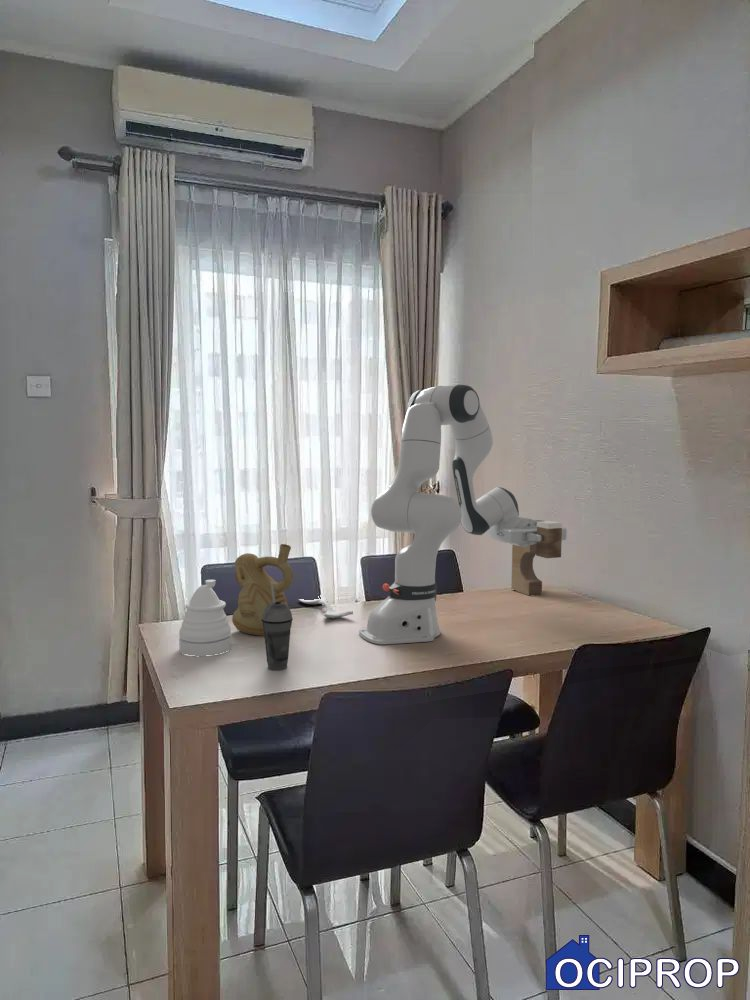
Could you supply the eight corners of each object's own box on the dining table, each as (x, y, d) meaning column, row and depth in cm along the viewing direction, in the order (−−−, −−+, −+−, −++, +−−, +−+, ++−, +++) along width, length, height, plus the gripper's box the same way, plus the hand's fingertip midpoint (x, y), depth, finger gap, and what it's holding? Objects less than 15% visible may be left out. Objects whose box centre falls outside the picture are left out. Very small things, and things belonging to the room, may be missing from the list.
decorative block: (542, 594, 239) (544, 537, 237) (528, 596, 237) (530, 538, 235) (524, 588, 249) (525, 533, 247) (510, 589, 247) (511, 534, 245)
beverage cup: (292, 672, 158) (291, 586, 157) (260, 672, 158) (259, 587, 156) (293, 661, 166) (293, 580, 164) (263, 662, 165) (262, 580, 163)
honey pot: (241, 645, 179) (240, 577, 177) (210, 659, 167) (208, 587, 166) (201, 639, 184) (200, 573, 183) (168, 653, 172) (166, 582, 171)
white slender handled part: (325, 624, 200) (325, 613, 200) (294, 601, 229) (294, 591, 229) (354, 621, 204) (354, 610, 203) (320, 598, 233) (320, 588, 233)
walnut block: (547, 558, 196) (548, 523, 195) (536, 555, 200) (537, 521, 200) (561, 557, 198) (562, 522, 197) (550, 554, 202) (550, 520, 202)
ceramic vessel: (254, 619, 205) (253, 536, 203) (309, 627, 196) (308, 541, 194) (215, 633, 190) (214, 543, 188) (273, 643, 181) (272, 549, 179)
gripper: (493, 523, 206) (521, 528, 193) (549, 520, 214) (579, 525, 202) (493, 544, 207) (520, 550, 194) (548, 540, 215) (578, 546, 202)
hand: (551, 537), depth 198 cm, fingers closed on walnut block, 5 cm apart
